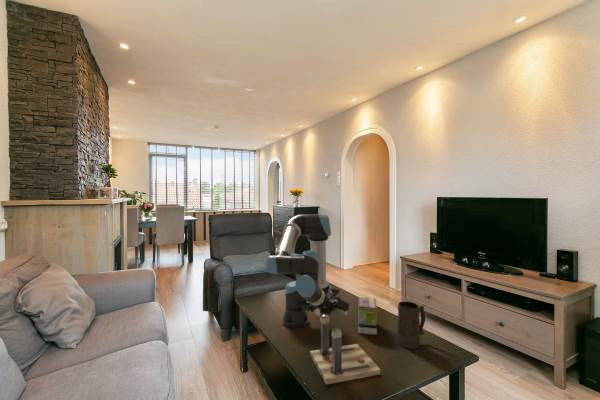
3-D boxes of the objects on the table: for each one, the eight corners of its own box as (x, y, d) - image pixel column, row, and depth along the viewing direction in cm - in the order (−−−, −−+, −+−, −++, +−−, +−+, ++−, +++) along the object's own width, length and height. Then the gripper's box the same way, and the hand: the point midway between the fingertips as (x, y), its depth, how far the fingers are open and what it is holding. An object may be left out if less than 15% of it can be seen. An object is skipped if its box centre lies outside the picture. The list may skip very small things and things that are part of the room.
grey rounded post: (329, 368, 117) (329, 327, 117) (339, 367, 118) (339, 325, 118) (333, 375, 113) (333, 332, 113) (343, 373, 114) (343, 330, 114)
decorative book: (299, 296, 188) (318, 283, 214) (299, 307, 188) (318, 293, 214) (325, 301, 178) (342, 287, 205) (325, 313, 179) (342, 298, 205)
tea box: (377, 335, 150) (377, 307, 150) (358, 333, 152) (358, 306, 152) (375, 322, 165) (375, 297, 164) (358, 321, 167) (358, 296, 166)
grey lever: (318, 350, 131) (318, 313, 130) (327, 349, 132) (327, 312, 132) (322, 356, 127) (321, 317, 126) (331, 354, 128) (331, 316, 127)
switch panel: (310, 355, 131) (310, 350, 131) (357, 347, 137) (357, 343, 137) (326, 384, 111) (326, 378, 111) (380, 374, 117) (380, 368, 117)
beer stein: (408, 351, 134) (410, 309, 134) (391, 341, 143) (393, 301, 144) (430, 345, 141) (432, 305, 141) (412, 336, 150) (414, 298, 151)
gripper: (289, 307, 122) (307, 321, 137) (345, 304, 113) (358, 320, 128) (291, 290, 126) (308, 305, 141) (345, 286, 117) (358, 303, 132)
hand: (332, 312), depth 134 cm, fingers open, 13 cm apart
